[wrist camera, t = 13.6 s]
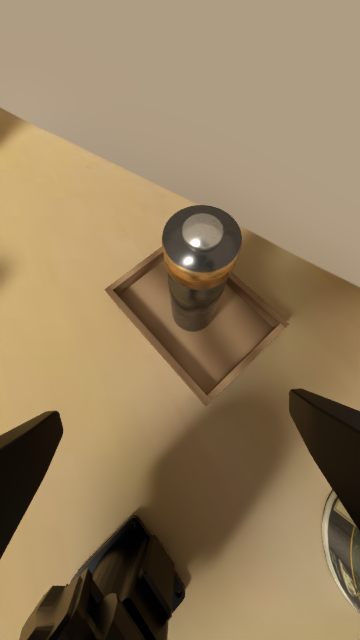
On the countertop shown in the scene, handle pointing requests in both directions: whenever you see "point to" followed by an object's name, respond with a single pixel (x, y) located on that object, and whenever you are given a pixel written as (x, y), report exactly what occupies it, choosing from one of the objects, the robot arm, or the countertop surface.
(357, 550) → the coffee can
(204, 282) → the battery cell
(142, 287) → the walnut tray
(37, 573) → the countertop surface
